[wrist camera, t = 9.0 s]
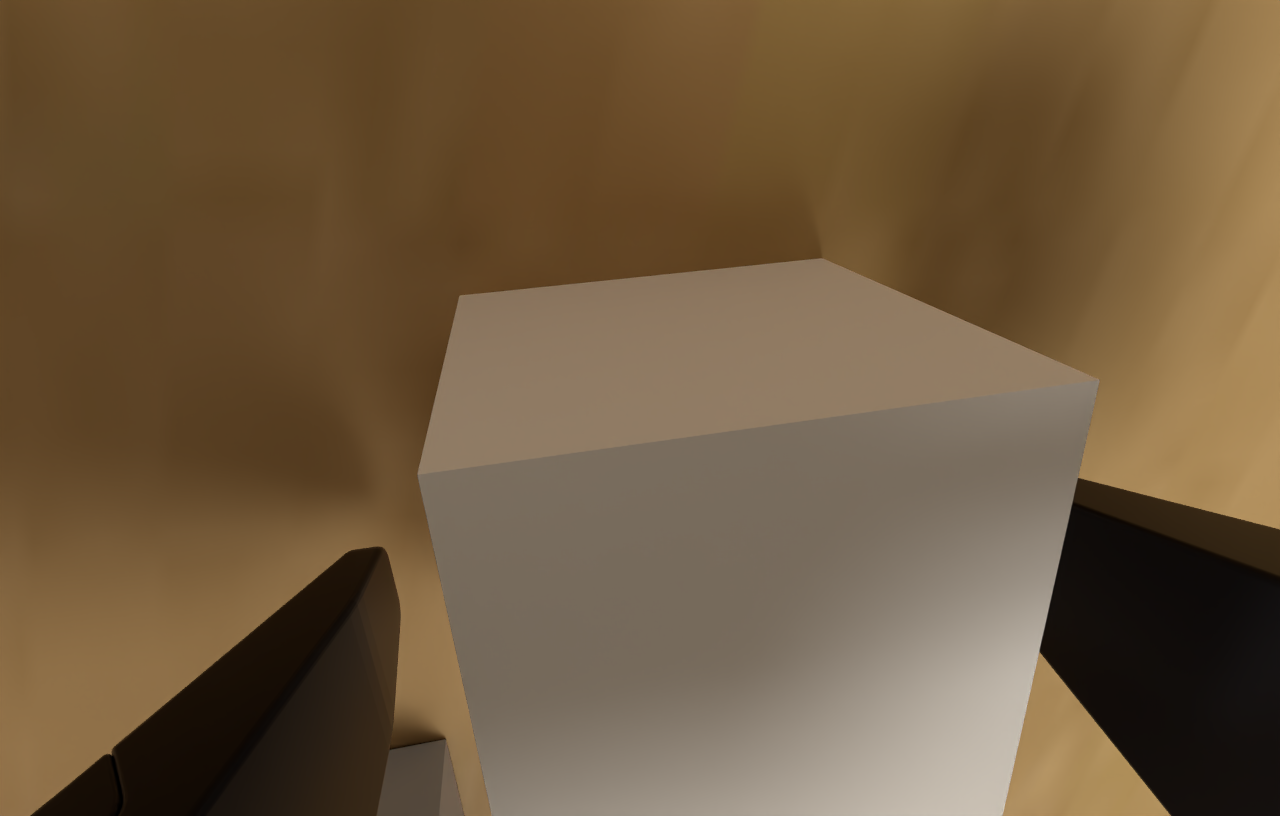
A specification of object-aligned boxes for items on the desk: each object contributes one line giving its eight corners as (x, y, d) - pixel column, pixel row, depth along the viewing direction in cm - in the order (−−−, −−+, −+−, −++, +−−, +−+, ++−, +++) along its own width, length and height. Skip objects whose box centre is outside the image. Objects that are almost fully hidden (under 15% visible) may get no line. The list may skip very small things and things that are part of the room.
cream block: (807, 550, 12) (1000, 824, 7) (511, 600, 11) (518, 940, 6) (819, 257, 10) (1099, 380, 5) (459, 294, 9) (417, 475, 4)
